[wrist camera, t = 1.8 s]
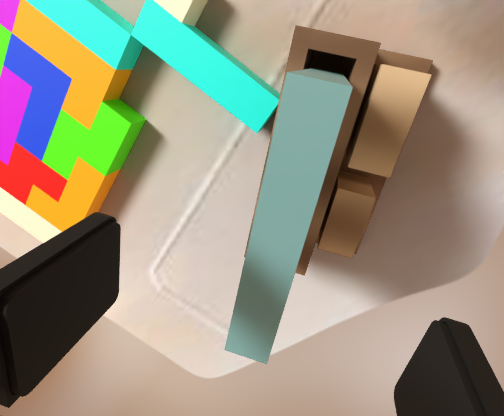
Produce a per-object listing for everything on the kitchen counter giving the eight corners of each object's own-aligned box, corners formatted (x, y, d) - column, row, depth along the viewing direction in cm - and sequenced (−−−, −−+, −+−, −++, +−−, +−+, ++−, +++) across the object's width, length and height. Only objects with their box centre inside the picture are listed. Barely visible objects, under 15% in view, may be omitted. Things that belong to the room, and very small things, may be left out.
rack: (305, 34, 24) (295, 25, 19) (429, 60, 23) (460, 59, 18) (261, 221, 31) (244, 257, 26) (355, 248, 30) (360, 292, 24)
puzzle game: (-71, 132, 37) (146, 290, 39) (-103, 138, 34) (132, 307, 36) (-17, -199, 24) (309, 64, 26) (-61, -232, 21) (306, 64, 23)
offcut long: (371, 64, 23) (383, 64, 18) (409, 72, 23) (431, 74, 18) (345, 145, 26) (347, 167, 21) (378, 154, 26) (390, 177, 20)
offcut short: (337, 169, 27) (337, 188, 23) (369, 178, 26) (375, 198, 22) (320, 222, 29) (317, 248, 25) (349, 231, 29) (352, 258, 25)
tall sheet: (315, 67, 24) (286, 72, 10) (342, 73, 24) (352, 86, 10) (278, 211, 29) (224, 350, 15) (300, 217, 29) (266, 364, 15)
